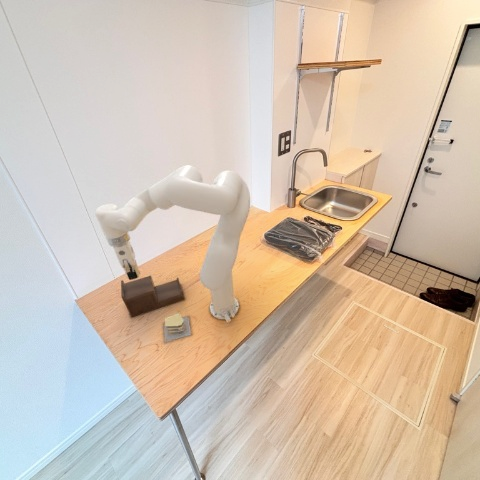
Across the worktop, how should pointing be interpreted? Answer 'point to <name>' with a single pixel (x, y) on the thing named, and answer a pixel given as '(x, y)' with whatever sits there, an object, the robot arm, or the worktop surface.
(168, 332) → the stacked layers on plate
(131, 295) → the step rack
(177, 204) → the robot arm
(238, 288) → the worktop surface
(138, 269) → the spice jar
